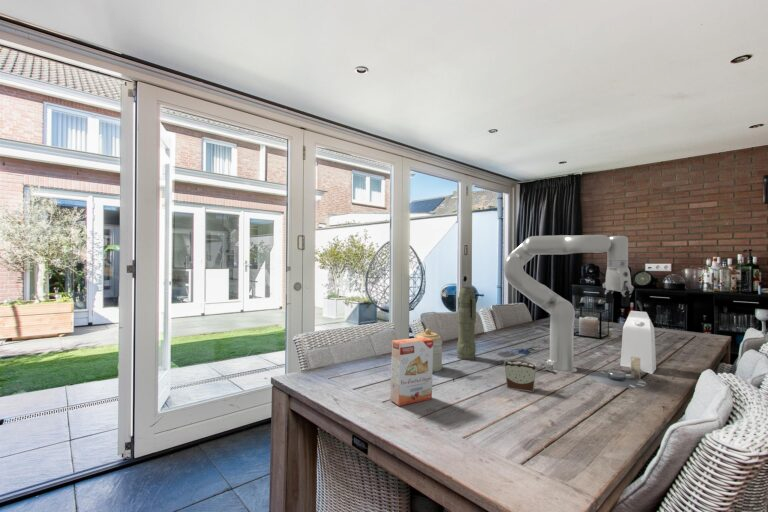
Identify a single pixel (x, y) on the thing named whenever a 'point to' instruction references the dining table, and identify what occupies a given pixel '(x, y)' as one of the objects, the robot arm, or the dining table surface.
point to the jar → (434, 348)
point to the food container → (520, 374)
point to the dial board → (627, 383)
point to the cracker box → (411, 370)
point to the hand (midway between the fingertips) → (617, 304)
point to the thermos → (466, 324)
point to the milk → (639, 341)
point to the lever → (622, 376)
